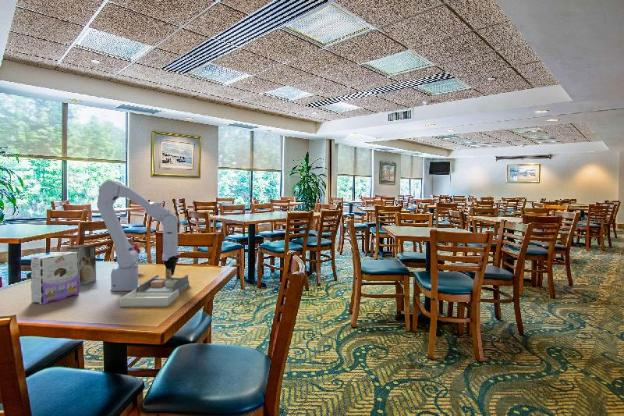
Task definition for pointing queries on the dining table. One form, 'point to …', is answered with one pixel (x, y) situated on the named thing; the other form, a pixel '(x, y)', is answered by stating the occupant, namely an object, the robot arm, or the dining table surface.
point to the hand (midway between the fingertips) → (170, 274)
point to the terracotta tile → (157, 283)
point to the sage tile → (170, 283)
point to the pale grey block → (168, 275)
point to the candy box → (54, 277)
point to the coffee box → (85, 263)
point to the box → (148, 299)
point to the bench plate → (180, 285)
